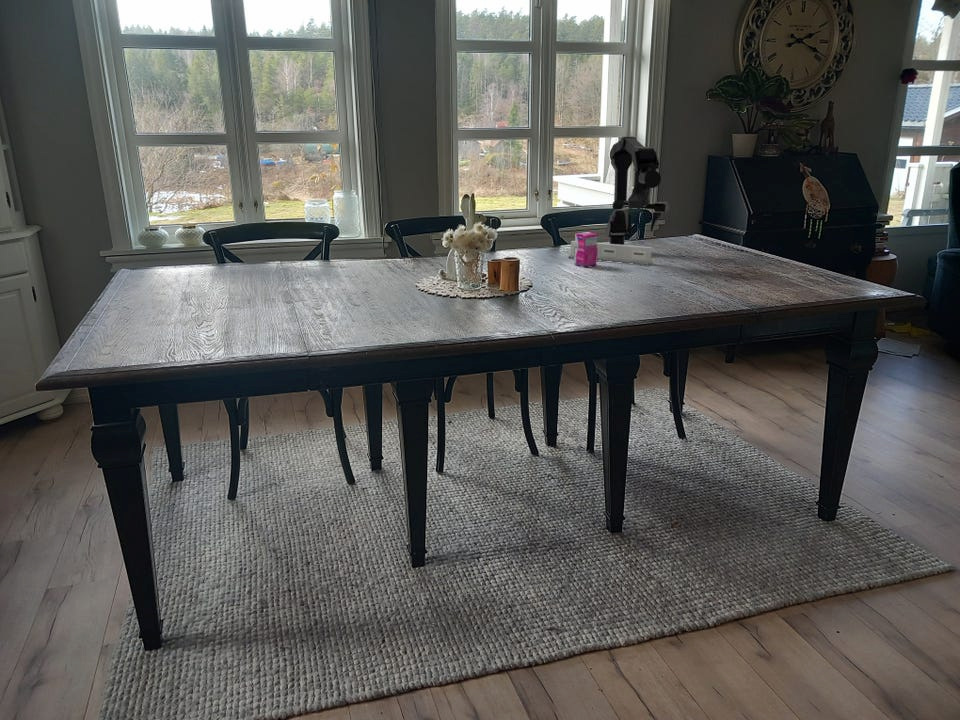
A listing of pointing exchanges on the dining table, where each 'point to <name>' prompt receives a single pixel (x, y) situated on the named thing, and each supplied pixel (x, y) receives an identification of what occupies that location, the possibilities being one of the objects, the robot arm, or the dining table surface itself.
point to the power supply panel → (620, 253)
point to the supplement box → (585, 249)
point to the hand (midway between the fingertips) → (638, 230)
